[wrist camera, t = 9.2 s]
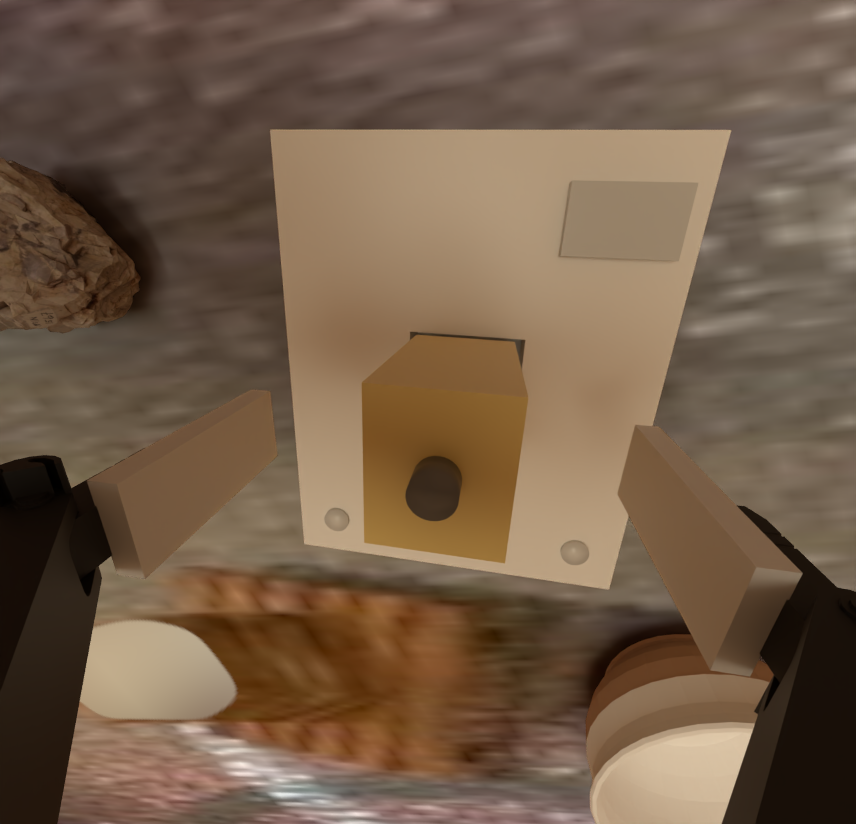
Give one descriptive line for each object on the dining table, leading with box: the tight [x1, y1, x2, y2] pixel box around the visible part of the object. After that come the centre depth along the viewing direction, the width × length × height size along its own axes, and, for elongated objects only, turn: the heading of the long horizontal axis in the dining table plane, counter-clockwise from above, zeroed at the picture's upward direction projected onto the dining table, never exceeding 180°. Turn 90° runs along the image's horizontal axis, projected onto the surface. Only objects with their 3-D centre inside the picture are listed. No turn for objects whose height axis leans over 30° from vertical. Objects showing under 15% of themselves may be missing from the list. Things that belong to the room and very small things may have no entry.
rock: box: [0, 158, 141, 333], centre depth 22 cm, size 9×12×10 cm
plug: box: [362, 335, 528, 563], centre depth 18 cm, size 6×5×13 cm
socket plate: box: [270, 130, 731, 589], centre depth 23 cm, size 24×20×4 cm
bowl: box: [586, 634, 774, 824], centre depth 26 cm, size 16×16×8 cm
